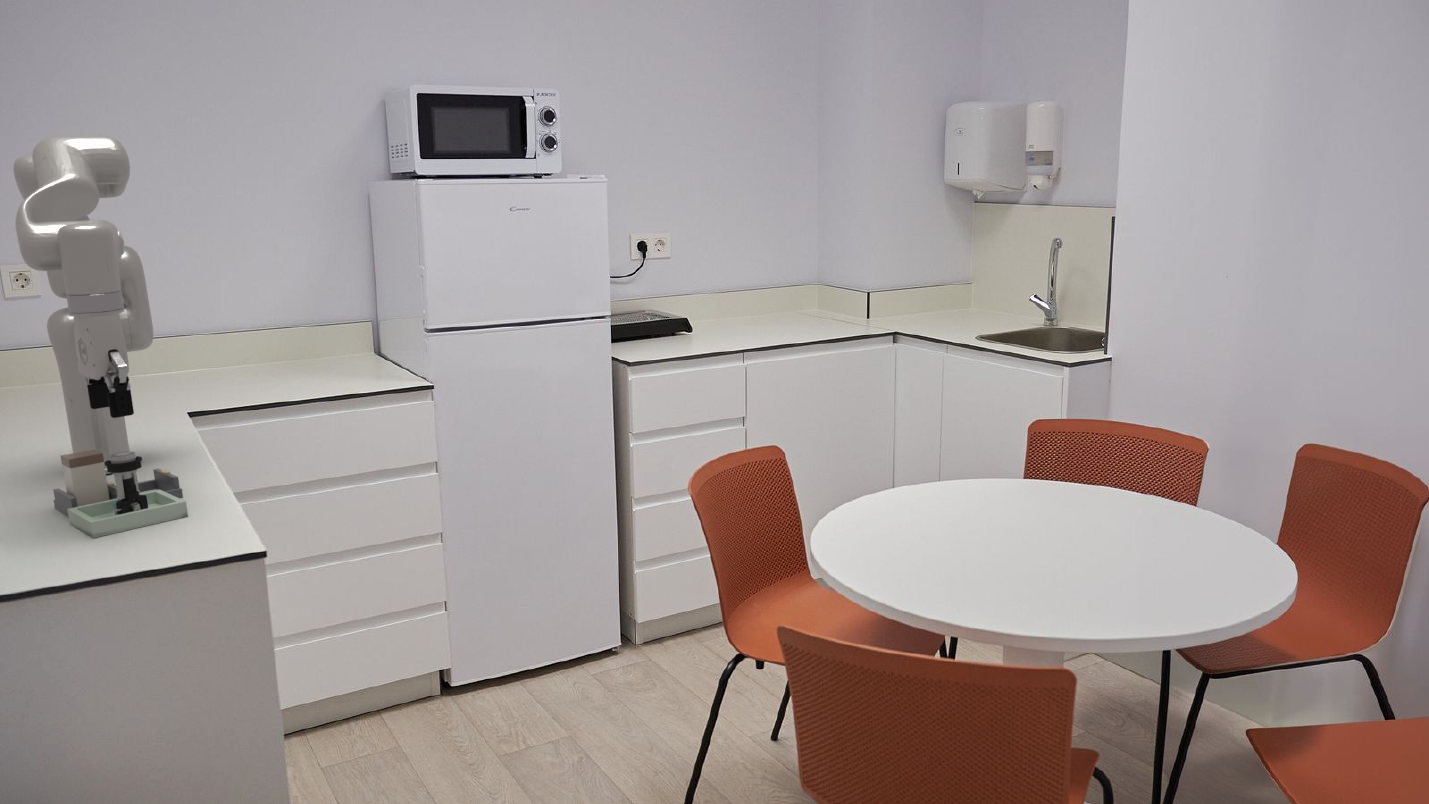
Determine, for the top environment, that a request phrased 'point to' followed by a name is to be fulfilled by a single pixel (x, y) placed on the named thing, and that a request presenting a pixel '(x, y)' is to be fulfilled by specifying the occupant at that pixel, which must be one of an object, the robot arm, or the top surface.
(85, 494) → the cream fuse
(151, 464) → the top surface
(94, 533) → the tray
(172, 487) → the holder
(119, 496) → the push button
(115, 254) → the robot arm
